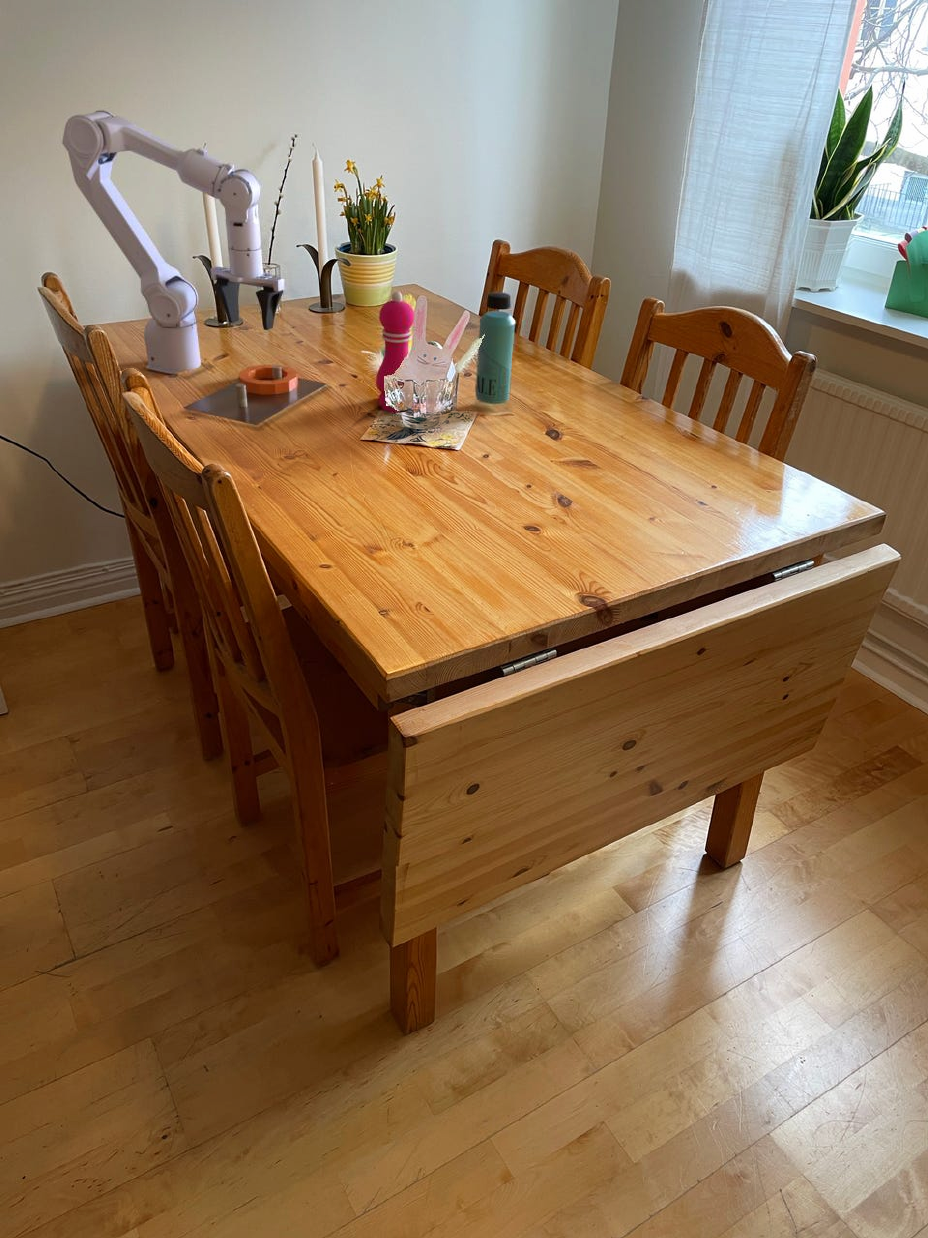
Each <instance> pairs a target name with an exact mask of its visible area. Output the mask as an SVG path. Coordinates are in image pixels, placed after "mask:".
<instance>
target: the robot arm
mask: <svg viewBox="0 0 928 1238" xmlns="http://www.w3.org/2000/svg"><path fill="white" fill-rule="evenodd" d="M62 145H63V147H64V148H65V150H66V151H67V154H68V158H69V163H70V166H71V167H70V168H71V171H72V175H73V179H74V182H75V184H76V186H77V187H78V189H79V190H80V192H81V193H82V195H83V196H84V198H85V199H86V201H87V203H88V204H89V205H90V207H91V208H92V209H93V211H94V212H95V214H96V216H97V218H99V220H100V222H101V224H102V225H103V226H104V227H105V229H106V230H107V232H108V233H109V234H110V236H111V237H112V239H113V241H114V242H115V244H116V245H117V246H118V248H119V249H120V251H121V252H122V254H123V255H124V256H125V258H126V260H127V261H128V262H129V264H130V265H131V267H132V268H133V270H134V272H135V273H136V274H137V276H138V277H139V279H140V293H141V295H142V296H143V298H144V299H145V301H146V305H147V310H148V312H149V314H150V316H151V317H152V318H150V319H149V320H148V321H147V322H146V324H145V326H144V331H143V338H144V345H145V350H146V357H147V365H146V366H145V369H146V370H150V371H154V372H159V373H164V374H168V375H174V374H176V373H179V372H187V371H188V372H189V371H193V370H197V369H199V368H200V367H201V366H202V360H201V351H200V343H199V335H198V327H197V326H198V325H197V317H196V316H195V312H194V310H195V309H196V308H197V306H198V303H199V295H198V292H197V289H196V288H195V286H194V285H193V284H192V283H191V282H190V281H188V280H187V279H185V278H184V277H183V276H182V275H181V273H180V271H179V270H178V269H176V268H175V267H173V266H172V265H171V264H168V263H167V262H166V261H165V259H164V258H163V257H162V255H161V253H160V252H159V250H158V249H157V247H156V246H155V244H154V242H153V241H152V239H151V238H150V237H149V235H148V233H147V232H146V231H145V229H144V228H143V226H142V224H141V222H140V221H139V220H138V219H137V217H136V216H135V214H134V212H133V211H132V209H131V208H130V207H129V205H128V204H127V202H126V201H125V199H124V197H123V196H122V194H121V193H120V191H119V190H118V189H117V186H115V184H114V183H113V181H112V179H111V177H112V176H111V175H112V169H113V165H114V160H115V158H116V157H117V154H118V153H121V152H133V153H134V154H136V155H139V156H141V157H144V158H145V159H148V160H151V161H153V162H155V163H158V164H159V165H161V166H164V167H167V168H169V169H171V170H174V171H175V172H176V173H177V175H178V177H179V179H180V181H181V183H183V184H185V185H187V186H189V187H192V188H193V189H195V190H198V191H199V192H202V193H204V194H206V195H208V196H210V197H211V198H214V199H215V200H219V202H220V205H222V206H223V208H224V215H225V229H226V238H227V240H226V241H227V252H228V261H229V267H224V266H223V267H222V266H214V267H211V268H210V277H211V278H210V279H211V280H213V281H215V283H213V284H212V289H213V290H214V292H215V293H216V295H217V296H218V299H219V300H220V302H221V304H222V306H223V308H224V311H225V313H226V317H227V319H228V323H230V324H235V323H236V322H239V321H240V308H239V293H240V285H246V286H251V287H256V288H262V289H260V290H257V291H256V292H255V295H256V298H257V301H258V303H259V309H260V312H261V313H260V314H261V322H262V328H263V330H264V331H269V330H271V329H273V328H274V323H275V317H276V312H277V309H278V306H279V304H280V300H281V299H282V296H283V295H284V290H285V289H286V288H285V278H283V277H279V276H276V275H273V274H270V273H267V272H264V268H263V267H264V265H263V254H262V240H261V239H262V237H261V226H260V219H259V218H260V217H259V204H258V201H259V200H260V198H261V194H262V187H261V183H260V181H259V180H258V178H257V176H255V174H253V173H252V172H250V170H249V169H246V168H239V169H235V165H234V164H233V163H231V162H228V163H225V162H222V161H220V160H218V159H216V158H214V157H212V156H210V155H208V150H207V149H205V148H202V147H200V148H198V149H196V148H194V147H193V148H189V149H187V150H185V151H183V150H181V149H179V148H178V147H176V146H174V145H172V144H170V143H169V142H167V141H165V140H163V139H162V138H159V137H158V136H156V135H154V134H153V133H150V132H149V131H147V130H146V129H143V128H142V127H140V126H138V125H137V124H135V123H132V122H131V121H129V120H128V119H126V118H125V117H122V116H120V115H114V114H113V113H112V112H110V111H108V110H103V109H101V110H100V109H99V110H96V111H94V112H89V113H85V114H75V115H72V116H71V117H69V118H68V119H67V121H66V122H65V124H64V129H63V134H62Z"/></svg>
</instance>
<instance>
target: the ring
mask: <svg viewBox="0 0 928 1238" xmlns="http://www.w3.org/2000/svg"><path fill="white" fill-rule="evenodd" d="M276 365H278V366H281V372H282V379H279V380H273V381H261V380H257V379H263V378H273V372H272V367H273V366H276ZM298 378H299V377H298V371H297V370H295V369H294V368H292V367H289V366H285V365H281V364H259V365H252V366H248V367H246V368H243V369H241V370H240V371H239V373H238V380H239V384H240V383H242V384H245V385H246V392H250V393H254V394H260V395H276V394H281V393H286V392H290V391H292V390H293V389H295V388H297V385H298Z"/></svg>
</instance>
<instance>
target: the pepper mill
mask: <svg viewBox="0 0 928 1238" xmlns="http://www.w3.org/2000/svg"><path fill="white" fill-rule="evenodd" d="M378 314H379V315H378V319H379V322H380V325H381V326H382V327H383V328H382V330H381V333H382V335H381V339H383V340H384V355H383V359H382V361H381V364H380V366H379V368H378V370H377V373H376V377H375V386H376V388H377V390H378V391H379V392H380V394H379V395H378V404H379V405H378V407H379V408H380V409H382V410H383V411H386V412H390V413H391V412H392V413H401V412H400V411H397V410H395V409H394V408H392V407H390V406H386V401H385V391H384V376H387V375H392V374H394V373H395V371H396V370H397V369H398V368H399V367H400V365H401V363H402V361H403V360H404V358H405V357H406V356H407V354H409V342H410V341H411V340H412V336H411V335H412V330H411V328H412V326H413V325H414V323H415V312H414V309H413V307H412V306H411V305H410V304H409V303H408V302H407V301H404V300H403V295H402V293H401V291H398V290H397V291H393V293H392V294H391V300H389V301H386V302H385V303H384V304H383V305H381V307H380V310H379V312H378Z"/></svg>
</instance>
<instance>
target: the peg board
mask: <svg viewBox="0 0 928 1238" xmlns="http://www.w3.org/2000/svg"><path fill="white" fill-rule="evenodd" d="M275 365H276V366H273V367H272V372H273V378H263V379H257V380H261V381H273V380H279V379H282V372H281V366H282V365H281V366H278V365H279V364H275ZM326 386H328V383H325V382H320V381H316V380H312V379H307V378H301V377H298V385H297V388H295V389H293V390H292V391H290V392H286V393H281V394H276V395H260V394H254V393H250V392H246V385H245V384H242V383H240V384H239V379H238V380H236V381H234V382H232V383H230V384H228V385H226V386H224V387H222V388H219V389H218V390H216V391H213V392H212V393H210V394H208V395H206V396H204V397H202V398H200V399H198V400H196V401H194V402H192V403H190V404H188V405H186V406H184V407H183V409H185V410H191V411H194V412H197V413H203V414H207V415H211V416H215V417H220V418H224V419H227V420H233V421H238V422H241V423H245V424H250V425H254V426H258V425H260V424H262V423H264V422H265V421H267V420H268V419H270V418H272V417H274V416H275V415H277V414H279V413H281V412H282V411H284V410H286V409H287V408H289V407H291V406H293V405H295V404H297V403H298V402H300V401H301V400H303V399H305V398H307V397H309V396H310V395H311V394H314V393H315V392H317V391H319V390H321V389H322V388H324V387H326Z"/></svg>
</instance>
